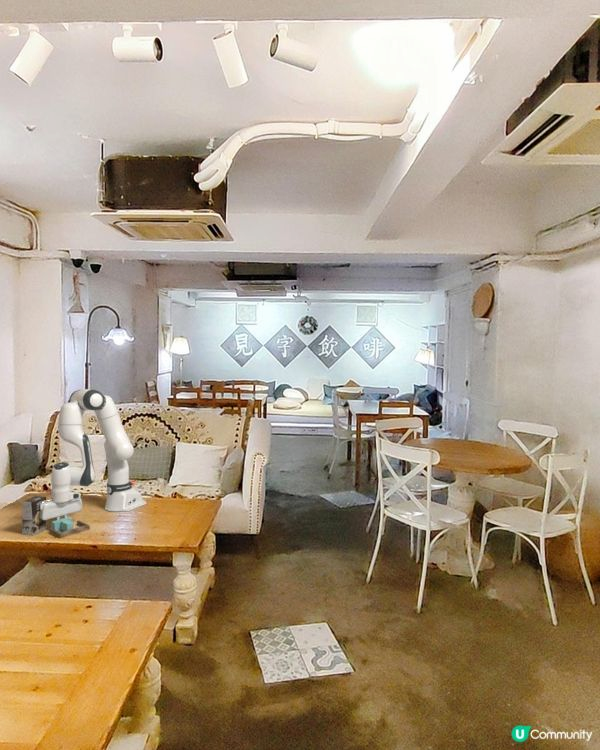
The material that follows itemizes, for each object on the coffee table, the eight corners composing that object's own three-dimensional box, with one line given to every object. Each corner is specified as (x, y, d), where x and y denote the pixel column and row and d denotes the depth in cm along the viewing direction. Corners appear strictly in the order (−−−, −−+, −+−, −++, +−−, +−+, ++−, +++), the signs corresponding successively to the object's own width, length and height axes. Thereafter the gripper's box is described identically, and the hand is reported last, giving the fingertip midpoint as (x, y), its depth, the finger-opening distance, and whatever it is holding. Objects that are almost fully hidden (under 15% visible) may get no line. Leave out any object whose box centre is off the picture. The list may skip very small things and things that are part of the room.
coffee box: (33, 535, 237) (33, 502, 236) (21, 534, 238) (21, 501, 237) (47, 528, 246) (47, 496, 245) (35, 527, 247) (35, 495, 246)
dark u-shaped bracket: (79, 524, 252) (79, 520, 252) (89, 529, 247) (89, 525, 246) (49, 533, 240) (49, 529, 240) (59, 538, 235) (59, 534, 234)
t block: (69, 525, 251) (69, 516, 250) (79, 529, 245) (79, 520, 245) (51, 530, 243) (51, 521, 243) (61, 535, 238) (61, 526, 238)
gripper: (43, 502, 237) (43, 531, 238) (83, 493, 253) (83, 519, 254) (36, 500, 241) (36, 528, 242) (77, 490, 257) (77, 517, 258)
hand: (61, 523), depth 248 cm, fingers closed
